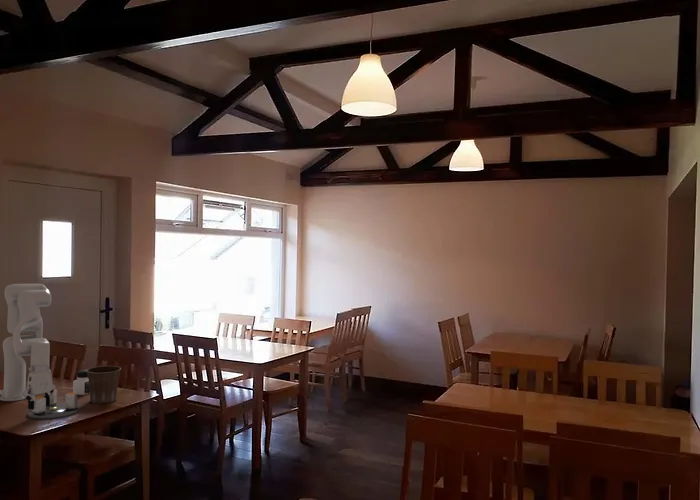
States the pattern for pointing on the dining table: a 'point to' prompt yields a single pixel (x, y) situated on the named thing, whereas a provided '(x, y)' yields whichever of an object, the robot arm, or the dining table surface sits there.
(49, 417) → the grey round tray
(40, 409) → the knob
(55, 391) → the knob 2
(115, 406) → the dining table surface
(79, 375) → the medicine bottle
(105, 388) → the plant pot
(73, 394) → the white short cylinder
